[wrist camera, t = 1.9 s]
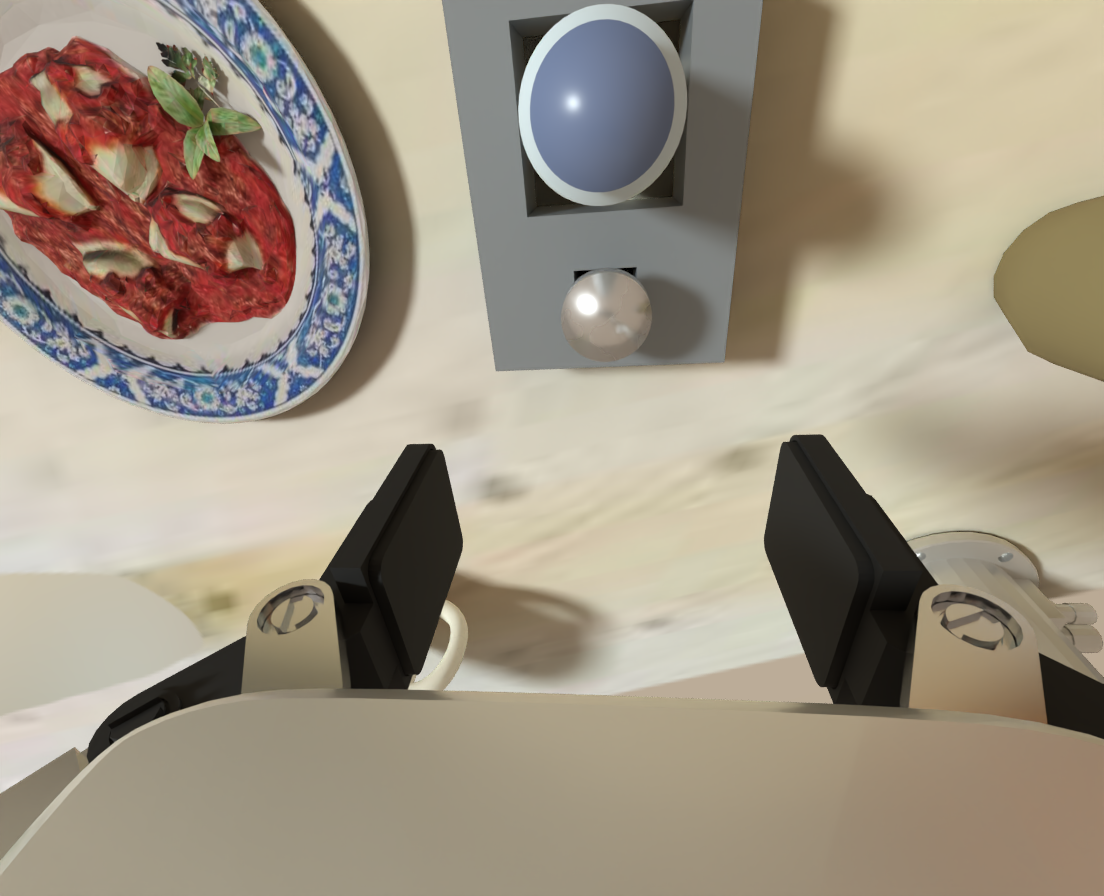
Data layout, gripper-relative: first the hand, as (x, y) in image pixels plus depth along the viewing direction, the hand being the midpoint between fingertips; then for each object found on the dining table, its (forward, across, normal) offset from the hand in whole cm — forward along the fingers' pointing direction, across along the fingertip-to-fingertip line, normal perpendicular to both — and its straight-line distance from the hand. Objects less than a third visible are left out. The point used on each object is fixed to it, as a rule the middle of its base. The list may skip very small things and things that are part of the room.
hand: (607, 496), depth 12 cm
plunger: (+17, 0, 0) cm, 17 cm away
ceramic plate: (+20, +25, -6) cm, 33 cm away
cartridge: (+20, 0, -8) cm, 21 cm away
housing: (+20, 0, -4) cm, 20 cm away
